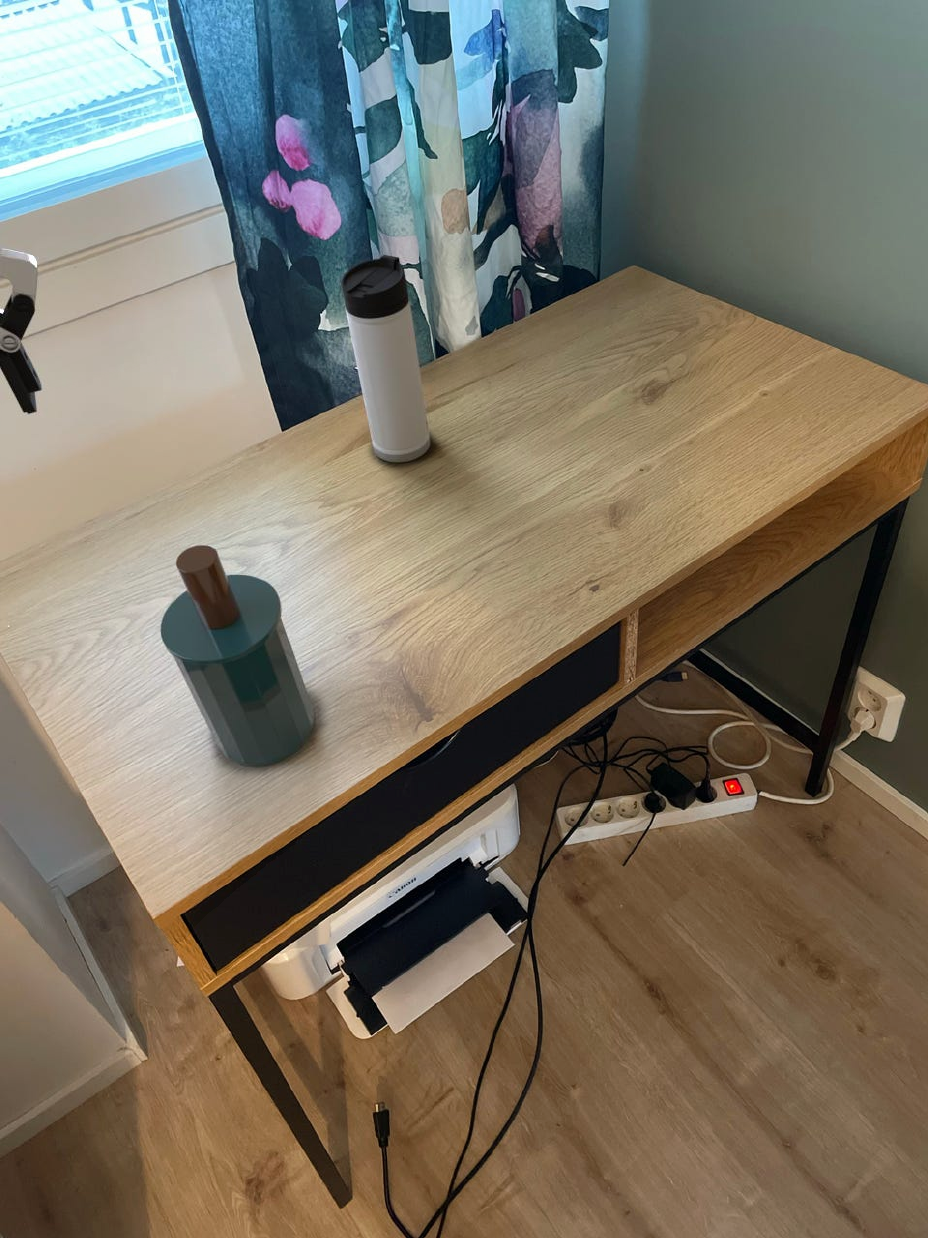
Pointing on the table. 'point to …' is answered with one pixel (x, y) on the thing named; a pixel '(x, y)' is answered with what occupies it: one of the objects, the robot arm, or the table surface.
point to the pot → (254, 702)
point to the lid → (217, 611)
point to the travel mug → (387, 357)
